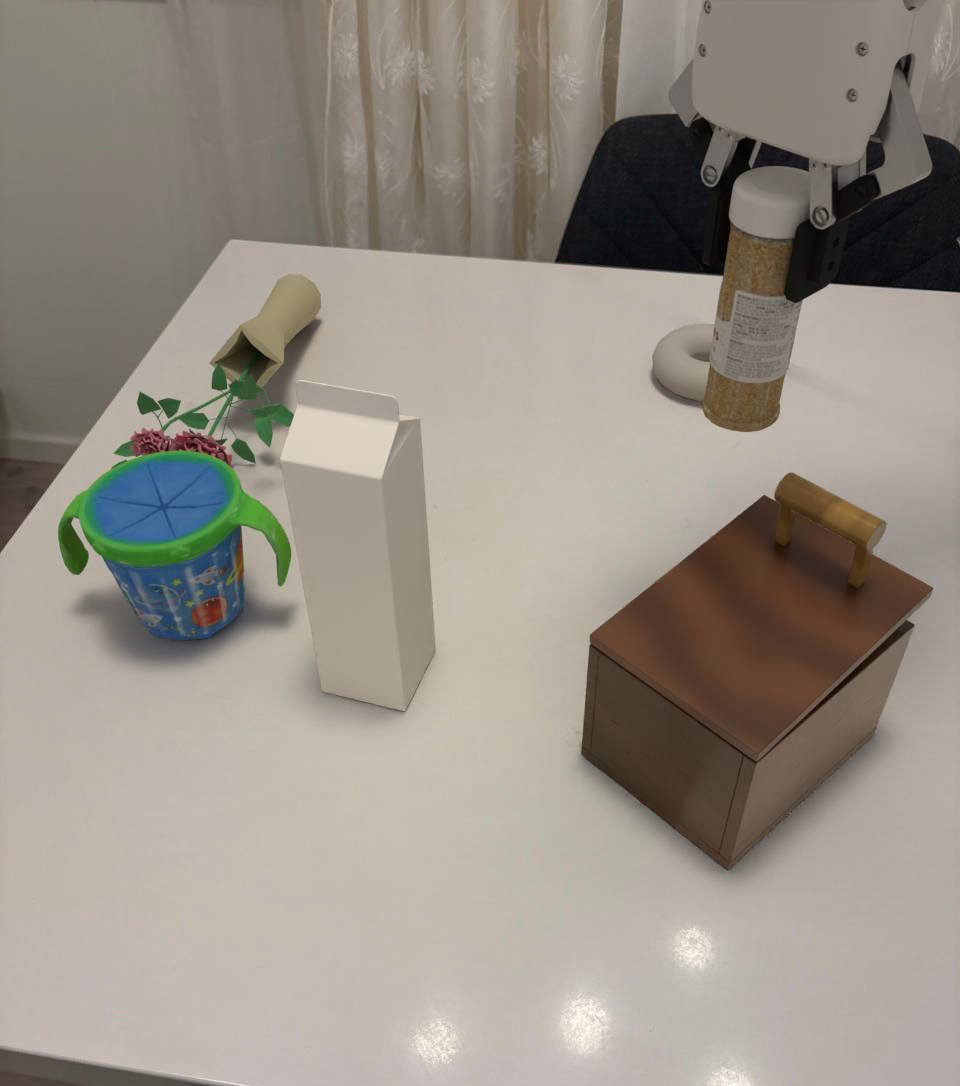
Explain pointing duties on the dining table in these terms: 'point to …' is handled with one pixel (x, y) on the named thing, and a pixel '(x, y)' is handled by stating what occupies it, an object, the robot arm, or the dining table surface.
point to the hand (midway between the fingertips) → (765, 271)
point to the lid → (765, 615)
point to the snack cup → (172, 539)
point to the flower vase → (238, 376)
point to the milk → (361, 540)
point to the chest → (726, 751)
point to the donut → (685, 360)
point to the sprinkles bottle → (756, 300)
